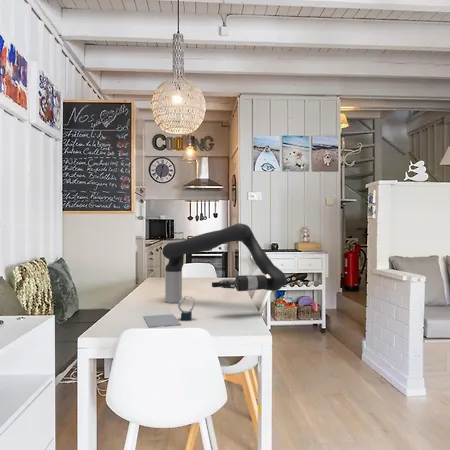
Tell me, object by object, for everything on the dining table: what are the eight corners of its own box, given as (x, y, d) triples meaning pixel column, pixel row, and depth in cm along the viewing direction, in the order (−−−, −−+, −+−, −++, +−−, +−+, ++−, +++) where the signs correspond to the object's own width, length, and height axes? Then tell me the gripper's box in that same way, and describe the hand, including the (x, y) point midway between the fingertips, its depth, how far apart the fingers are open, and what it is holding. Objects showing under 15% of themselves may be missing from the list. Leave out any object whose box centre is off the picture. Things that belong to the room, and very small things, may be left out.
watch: (178, 317, 193) (178, 294, 193) (195, 317, 193) (195, 294, 193) (176, 320, 188) (176, 296, 187) (194, 320, 187) (194, 296, 187)
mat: (143, 316, 194) (143, 316, 194) (172, 315, 198) (172, 314, 198) (148, 327, 175) (148, 326, 175) (181, 325, 179) (181, 324, 179)
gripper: (241, 273, 205) (208, 275, 200) (251, 277, 193) (216, 278, 187) (241, 288, 205) (208, 290, 200) (251, 293, 193) (216, 295, 187)
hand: (212, 284), depth 194 cm, fingers closed
